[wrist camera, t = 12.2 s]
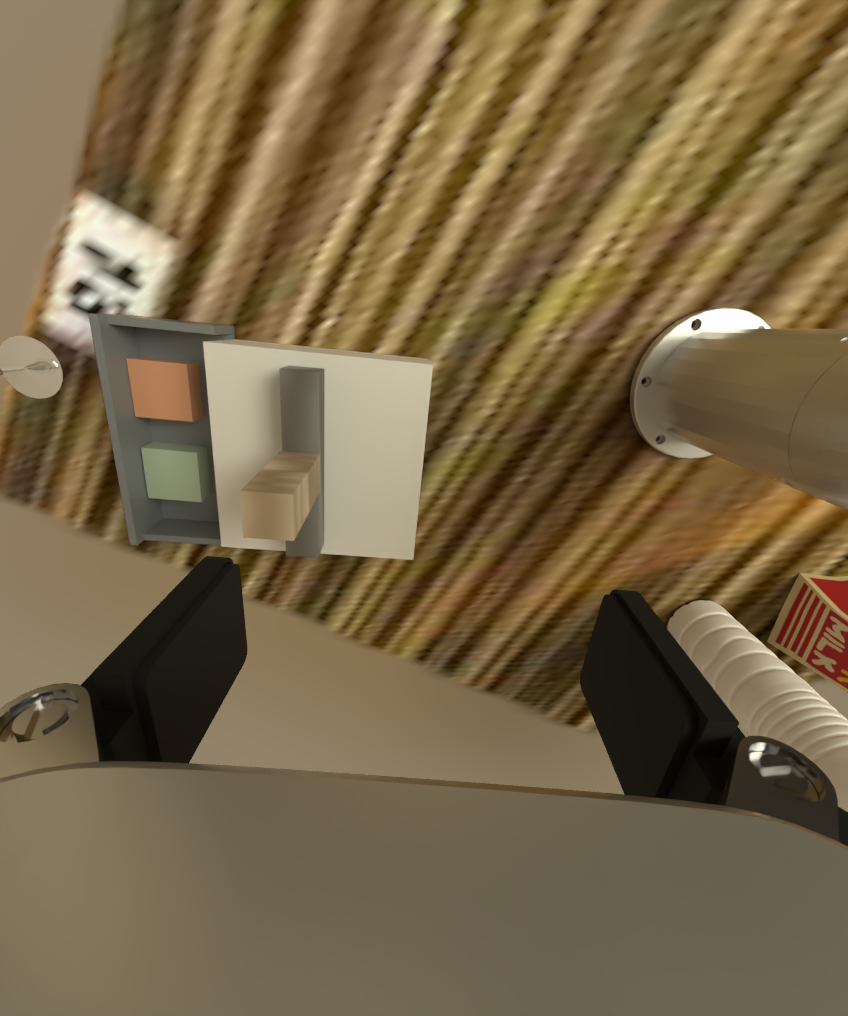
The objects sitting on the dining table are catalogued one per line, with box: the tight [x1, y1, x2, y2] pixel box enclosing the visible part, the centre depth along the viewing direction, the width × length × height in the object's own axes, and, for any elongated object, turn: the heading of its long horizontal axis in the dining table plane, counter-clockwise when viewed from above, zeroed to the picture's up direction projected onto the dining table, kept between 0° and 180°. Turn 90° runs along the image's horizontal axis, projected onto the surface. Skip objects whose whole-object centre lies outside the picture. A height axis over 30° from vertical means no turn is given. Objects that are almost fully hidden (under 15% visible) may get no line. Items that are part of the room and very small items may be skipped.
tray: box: [89, 314, 235, 545], centre depth 36 cm, size 8×18×5 cm, turn 174°
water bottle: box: [667, 600, 848, 812], centre depth 37 cm, size 9×6×25 cm
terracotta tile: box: [126, 357, 203, 422], centre depth 35 cm, size 4×4×2 cm
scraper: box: [240, 366, 325, 558], centre depth 29 cm, size 3×14×10 cm, turn 175°
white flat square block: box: [203, 339, 433, 560], centre depth 36 cm, size 16×16×6 cm
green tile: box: [141, 442, 211, 502], centre depth 38 cm, size 4×4×2 cm
